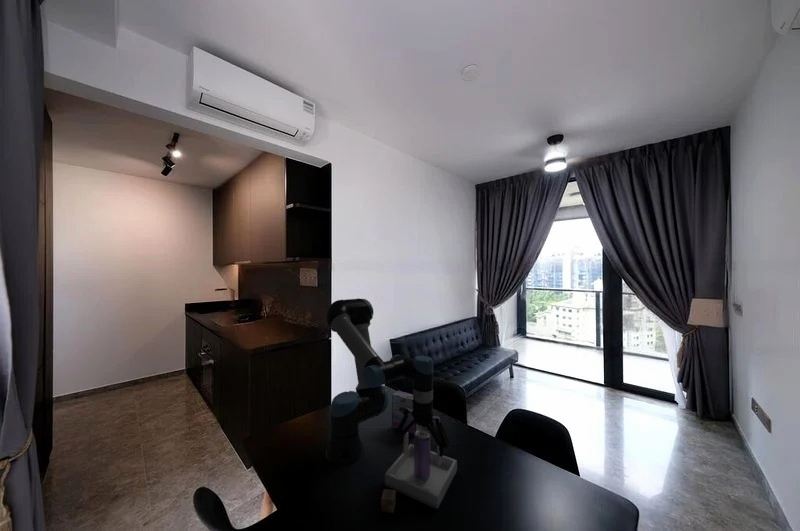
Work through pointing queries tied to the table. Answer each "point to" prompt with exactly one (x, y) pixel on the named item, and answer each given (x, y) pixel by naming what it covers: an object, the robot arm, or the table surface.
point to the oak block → (388, 501)
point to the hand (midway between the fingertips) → (421, 457)
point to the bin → (421, 490)
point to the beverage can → (422, 454)
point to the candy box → (403, 411)
